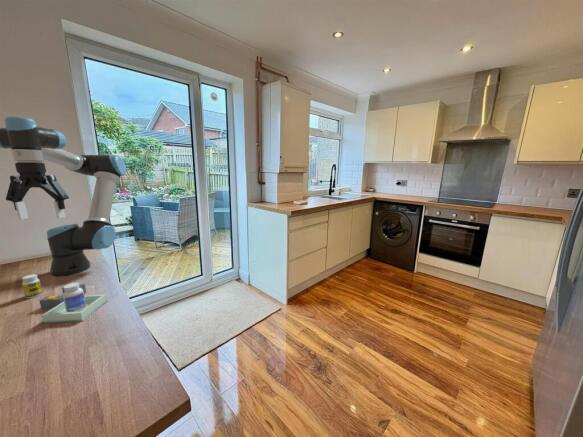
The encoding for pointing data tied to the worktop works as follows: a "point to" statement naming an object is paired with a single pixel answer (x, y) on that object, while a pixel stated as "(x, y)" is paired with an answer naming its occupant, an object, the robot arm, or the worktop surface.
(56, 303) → the block
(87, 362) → the worktop surface
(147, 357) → the worktop surface
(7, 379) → the worktop surface
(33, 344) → the worktop surface
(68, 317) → the tray
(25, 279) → the supplement bottle
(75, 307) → the pill bottle
